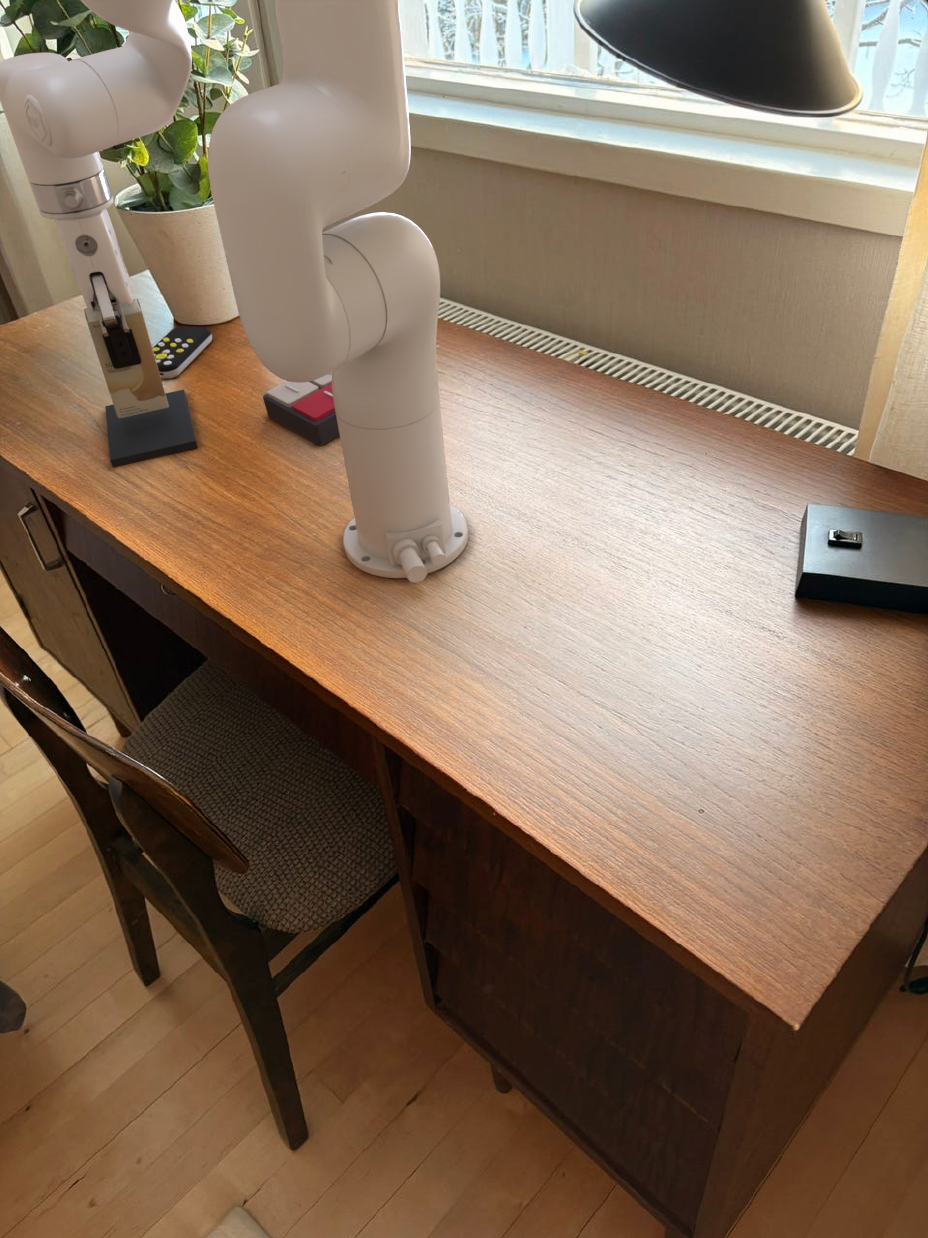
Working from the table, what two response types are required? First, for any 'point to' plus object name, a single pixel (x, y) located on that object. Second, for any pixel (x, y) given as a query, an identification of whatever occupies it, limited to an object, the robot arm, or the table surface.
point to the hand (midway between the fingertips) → (126, 354)
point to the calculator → (305, 408)
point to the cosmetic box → (130, 367)
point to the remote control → (180, 349)
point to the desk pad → (151, 432)
